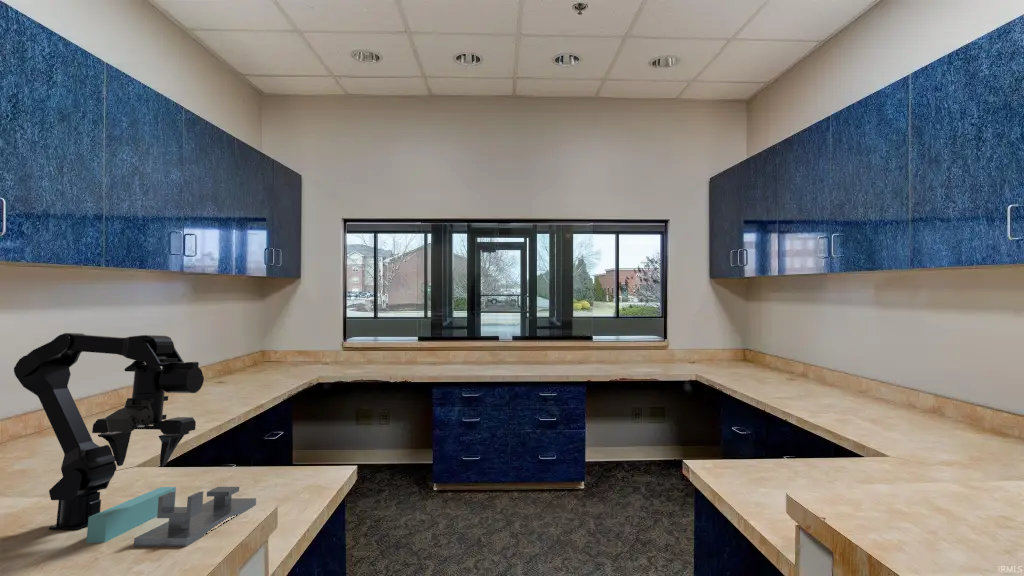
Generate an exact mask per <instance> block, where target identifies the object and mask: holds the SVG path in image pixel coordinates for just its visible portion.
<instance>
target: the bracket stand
mask: <svg viewBox="0 0 1024 576" xmlns="http://www.w3.org/2000/svg"><path fill="white" fill-rule="evenodd" d="M238 492H240V486H217V487H215V488H211V489H210V490H208V491H207V492H206V497H213V499H211V500H209V501H207V502H205V503H203V502H204V491H197V492H196V493H193V494H191V495H189V496H187V499H186V500H187V501H186V502H187V504H186V506H175V507H174V504H175V505H176V495H175V492H169V493H167V494H165V495H162V496H160V497H159V499H158V512H157V517H156V519H168V521H166V522H164V523H163V524H160V525H158V526H156V527H154V528H152V529H150V530H149V531H146V532H144V533H142V534H140V535H138V536H136V537H134V538H133V547H134V548H136V547H137V548H143V547H144V548H145V547H147V548H148V547H149V548H153V547H154V548H155V547H157V548H161V547H163V548H165V547H166V548H167V547H169V548H178V547H179V548H181V547H183V548H184V547H185V548H186V547H187V546H190V545H192V544H193V543H194V542H196V541H198V540H199V538H200V539H201V538H203V537H204V536H203V535H204V534H206V533H207V532H208V531H210V530H211V529H212V528H214V527H215V526H217V525H218V524H220V523H221V522H223V521H224V520H226V519H227V518H229V517H232V516H235V515H238V514H240V515H242V514H243V513H245V512H246V511H248V510H250V509H252V508H254V507H255V506H256V505H257V497H256V498H255V497H254V498H253V497H252V498H250V497H248V498H247V497H245V498H243V497H242V498H241V497H240V498H239V497H238V498H235V497H232V496H233V495H235V494H236V493H238ZM238 516H239V515H238ZM206 535H207V534H206ZM202 536H203V537H202Z"/></svg>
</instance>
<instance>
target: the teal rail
mask: <svg viewBox="0 0 1024 576" xmlns="http://www.w3.org/2000/svg"><path fill="white" fill-rule="evenodd" d="M169 492H175V496H176V495H177V494H176V492H177V487H176V486H160V487H158V488H156V489H153V490H151V491H148V492H145V493H142V494H141V495H138V496H135V497H134V498H130V499H129V500H127V501H124V502H122V503H119V504H117V505H115V506H112V507H109V508H107V509H104V510H102V511H100V512H99V513H97V514H95V515H92V516H90V517H89V518H88V525H87V528H86V530H87V533H86V544H91V543H92V544H94V543H98V544H99V543H101V544H102V543H107V542H108V541H111V540H113V539H115V538H117V537H118V536H121V535H123V534H125V533H127V532H129V531H131V530H133V529H136V528H137V527H140V526H142V525H143V524H145V523H147V522H149V521H151V520H154V519H155V518H157V512H158V499H159V497H160V496H162V495H165V494H167V493H169ZM174 507H176V503H175V504H174Z"/></svg>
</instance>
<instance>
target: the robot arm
mask: <svg viewBox="0 0 1024 576" xmlns="http://www.w3.org/2000/svg"><path fill="white" fill-rule="evenodd" d="M83 352H85V353H95V354H96V353H97V354H98V353H99V354H110V355H111V354H112V355H118V356H119V355H120V356H123V357H124V358H126V359H129V360H133V361H132V363H131V364H130V365H128V366H126V367H125V368H124V372H134V375H133V376H134V377H133V384H132V385H133V386H132V394H131V397H128V398H127V399H126V401H125V405H124V407H122V408H119V409H118V410H115V411H114V412H112V413H110V414H109V415H108V416H106V417H103V418H98V419H96V420H95V422H94V423H93V424H92V429H91V433H92V434H97V436H98V437H99V438H103V440H106V441H107V443H108V444H104V445H98V444H97V443H95V442H94V440H93V438H92V437H91V434H90V431H89V430H88V428H87V426H86V424H85V421H84V420H83V417H82V415H81V413H80V410H79V408H78V407H77V403H76V402H75V400H74V398H73V396H72V394H71V392H70V389H69V385H68V384H69V382H70V378H71V371H70V368H71V367H73V365H74V364H76V363H77V362H78V360H79V358H80V356H81V354H82V353H83ZM199 366H200V362H199V361H187V362H184V360H183V358H182V357H181V356H180V354H179V353H178V351H177V349H176V347H175V343H174V341H173V339H172V337H170V336H167V335H157V334H156V335H154V334H153V335H151V334H150V335H149V334H145V335H144V334H143V335H134V336H133V335H131V336H127V337H117V336H105V335H91V334H84V333H80V332H79V333H76V332H65V333H62V334H59V335H57V336H56V337H55V338H54V339H52V340H51V341H49V342H47V343H44V344H42V345H40V346H39V347H37V348H34V349H33V350H31V351H30V352H28V354H26V355H24V356H22V357H20V358H19V359H18V360H17V362H16V364H15V365H14V367H13V372H14V376H15V377H16V379H17V380H18V382H19V383H20V385H21V386H22V388H24V389H26V390H27V391H29V392H31V393H32V394H34V395H35V396H36V397H37V398H38V399H39V401H40V404H41V406H42V408H43V410H44V412H45V415H46V417H47V419H48V421H49V423H50V426H51V428H52V430H53V432H54V434H55V436H56V439H57V440H58V444H60V447H61V449H62V451H63V454H64V456H63V459H62V462H61V463H62V464H61V466H60V471H61V474H62V478H60V479H59V480H58V481H57V482H56V483H55V484H54V485H53V486H52V487H51V488H49V490H48V493H49V494H48V495H49V497H50V501H58V502H57V503H58V504H57V513H56V523H55V524H52V525H50V526H48V529H49V530H81V529H83V528H85V527H88V518H89V517H90V516H92V515H95V514H97V513H99V512H101V504H102V499H101V491H102V490H106V489H108V486H109V484H110V482H111V480H112V479H113V477H114V475H115V473H116V472H117V467H121V466H123V465H124V462H125V460H126V457H127V452H128V448H129V444H130V440H131V436H132V432H133V431H135V430H158V431H160V432H161V433H162V434H160V435H158V438H159V440H160V443H161V447H160V455H159V466H160V468H161V467H165V466H166V465H167V463H168V461H169V460H170V458H171V456H172V455H173V453H174V451H175V450H176V448H177V446H178V444H179V443H180V442H181V441H182V439H183V438H184V436H186V435H189V434H190V432H191V431H196V425H197V421H196V420H195V418H194V417H193V416H190V417H189V416H188V417H187V416H182V417H180V416H177V417H171V418H168V419H167V414H164V403H165V402H167V401H169V395H165V393H166V394H167V393H168V394H171V393H172V394H196V393H198V392H199V391H200V390H201V388H202V386H203V384H204V380H205V376H204V373H203V371H202V368H200V367H199Z"/></svg>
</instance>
